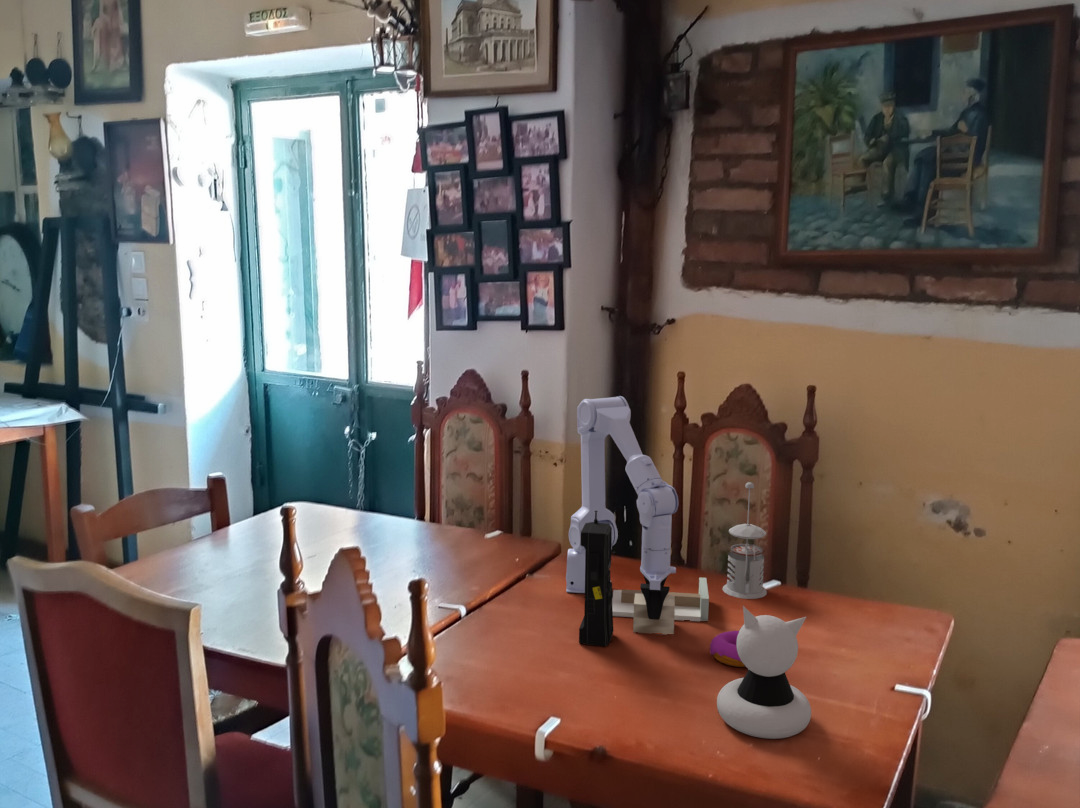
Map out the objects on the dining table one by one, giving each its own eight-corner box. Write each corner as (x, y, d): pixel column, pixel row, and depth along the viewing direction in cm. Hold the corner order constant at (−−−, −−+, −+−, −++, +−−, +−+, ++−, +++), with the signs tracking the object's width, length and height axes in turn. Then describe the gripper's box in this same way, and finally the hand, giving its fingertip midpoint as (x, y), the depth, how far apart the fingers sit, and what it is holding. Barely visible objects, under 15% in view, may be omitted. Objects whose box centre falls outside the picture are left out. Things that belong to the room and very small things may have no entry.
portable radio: (609, 650, 169) (611, 523, 165) (577, 647, 170) (579, 521, 166) (614, 632, 177) (616, 511, 172) (584, 630, 178) (586, 509, 174)
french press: (763, 583, 204) (769, 477, 199) (771, 603, 192) (777, 491, 188) (720, 581, 205) (724, 476, 200) (725, 600, 193) (730, 489, 189)
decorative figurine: (793, 697, 152) (800, 586, 148) (823, 744, 137) (831, 622, 134) (707, 698, 151) (712, 586, 148) (728, 745, 137) (734, 622, 133)
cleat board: (610, 615, 185) (610, 592, 184) (613, 594, 197) (614, 572, 196) (707, 621, 182) (708, 598, 181) (705, 599, 194) (706, 577, 193)
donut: (739, 643, 173) (740, 621, 172) (778, 664, 164) (779, 640, 163) (699, 655, 167) (699, 632, 167) (737, 677, 159) (738, 653, 158)
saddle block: (633, 632, 177) (633, 603, 176) (634, 621, 182) (634, 593, 181) (673, 635, 176) (674, 606, 175) (673, 623, 181) (674, 595, 180)
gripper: (677, 559, 169) (674, 627, 171) (676, 536, 183) (674, 598, 185) (639, 557, 170) (637, 624, 172) (641, 534, 184) (640, 596, 186)
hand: (654, 611), depth 179 cm, fingers open, 7 cm apart
